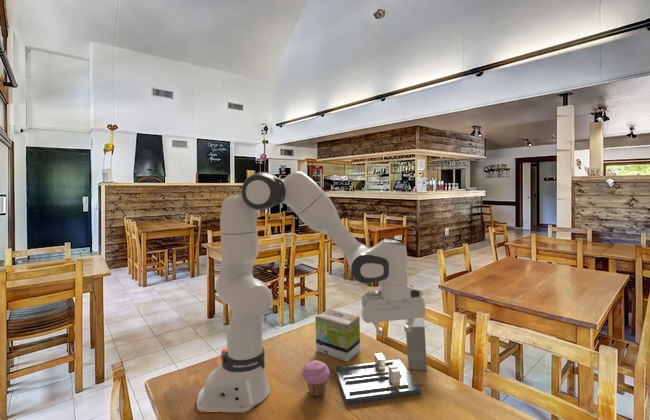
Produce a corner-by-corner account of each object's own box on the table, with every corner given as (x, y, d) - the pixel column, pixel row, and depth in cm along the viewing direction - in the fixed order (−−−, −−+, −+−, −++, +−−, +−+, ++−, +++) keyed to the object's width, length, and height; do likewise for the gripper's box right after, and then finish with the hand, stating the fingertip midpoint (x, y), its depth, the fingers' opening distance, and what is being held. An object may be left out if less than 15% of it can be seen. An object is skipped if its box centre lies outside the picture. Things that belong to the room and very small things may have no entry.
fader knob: (392, 385, 108) (392, 371, 108) (388, 378, 112) (388, 364, 112) (400, 384, 109) (400, 370, 108) (395, 377, 113) (395, 363, 112)
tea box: (315, 352, 135) (314, 316, 134) (329, 341, 144) (328, 307, 142) (347, 362, 127) (347, 324, 126) (360, 351, 135) (360, 315, 134)
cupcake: (332, 398, 106) (332, 368, 105) (305, 403, 105) (304, 372, 104) (327, 382, 115) (326, 353, 114) (301, 386, 113) (300, 357, 112)
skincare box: (427, 371, 120) (427, 327, 118) (406, 369, 121) (406, 326, 120) (425, 358, 128) (425, 318, 127) (405, 357, 130) (405, 317, 128)
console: (346, 404, 103) (346, 383, 103) (335, 372, 121) (334, 353, 120) (421, 394, 107) (421, 374, 106) (399, 364, 125) (399, 346, 124)
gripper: (364, 296, 103) (364, 340, 104) (427, 291, 106) (427, 334, 108) (358, 289, 109) (359, 331, 110) (418, 285, 113) (418, 325, 114)
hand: (393, 332), depth 109 cm, fingers open, 8 cm apart
